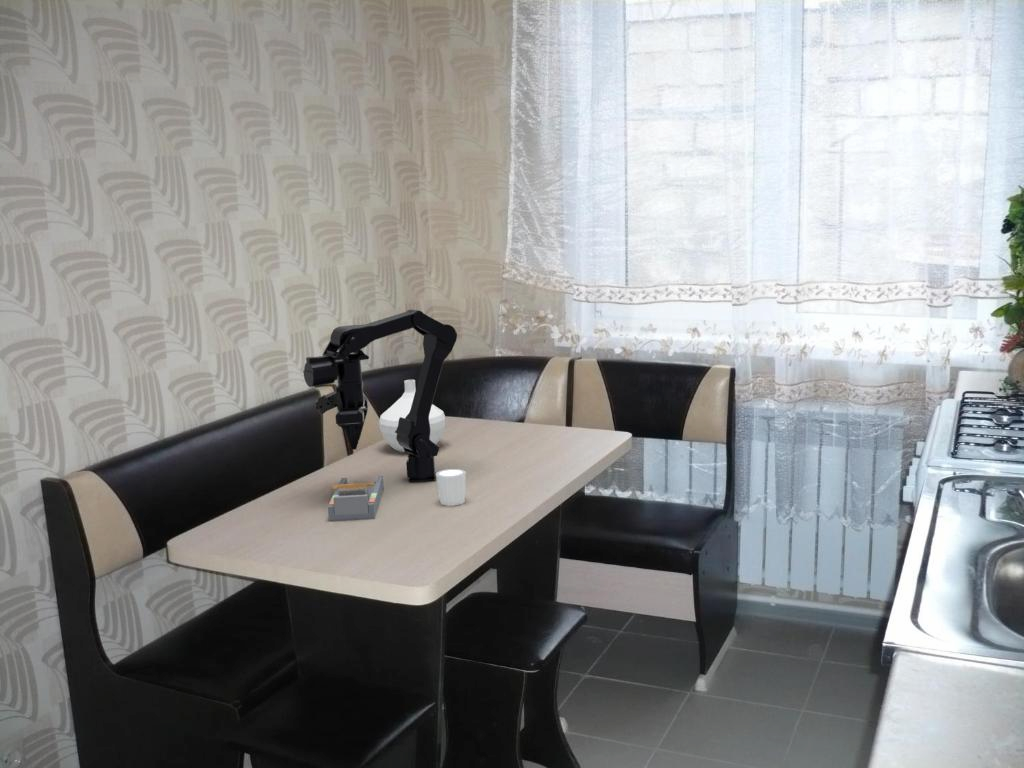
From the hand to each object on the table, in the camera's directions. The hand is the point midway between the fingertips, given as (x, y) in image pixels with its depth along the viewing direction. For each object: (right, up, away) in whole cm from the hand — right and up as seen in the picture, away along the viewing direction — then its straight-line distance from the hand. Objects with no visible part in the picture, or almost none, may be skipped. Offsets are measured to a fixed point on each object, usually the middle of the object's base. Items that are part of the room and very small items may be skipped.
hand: (355, 444), depth 252 cm
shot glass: (+24, -13, -9) cm, 28 cm away
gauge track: (+2, -13, -7) cm, 15 cm away
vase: (+10, -4, +42) cm, 43 cm away
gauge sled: (+2, -13, -13) cm, 18 cm away
